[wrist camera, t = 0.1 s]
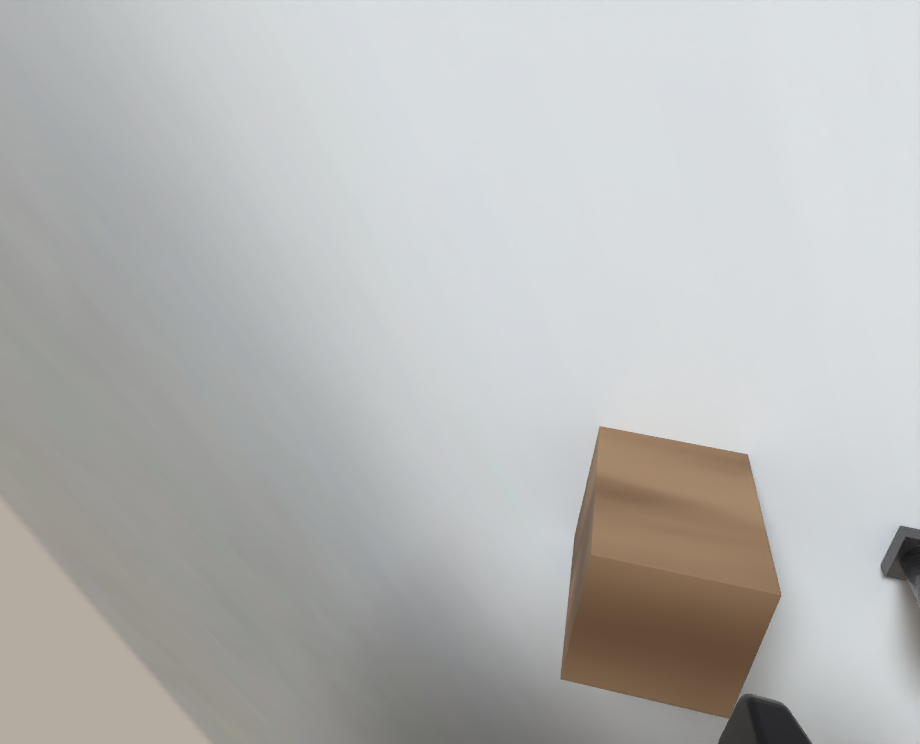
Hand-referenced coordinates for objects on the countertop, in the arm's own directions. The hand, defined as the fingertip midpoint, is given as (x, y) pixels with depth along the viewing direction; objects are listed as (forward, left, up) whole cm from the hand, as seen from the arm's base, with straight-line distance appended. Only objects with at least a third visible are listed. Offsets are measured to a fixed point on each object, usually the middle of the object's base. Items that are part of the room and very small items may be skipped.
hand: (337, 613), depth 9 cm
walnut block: (-8, -6, -15) cm, 18 cm away
